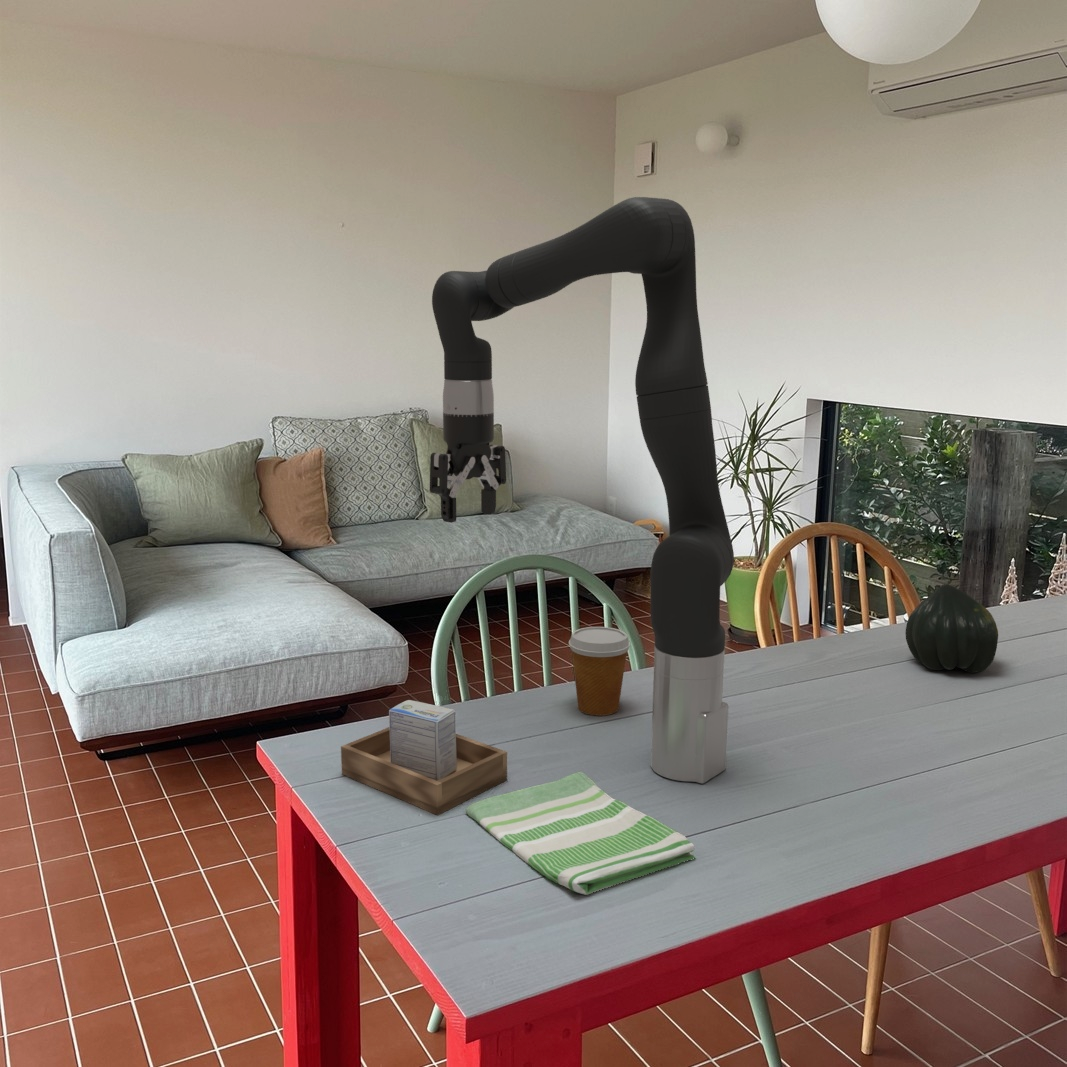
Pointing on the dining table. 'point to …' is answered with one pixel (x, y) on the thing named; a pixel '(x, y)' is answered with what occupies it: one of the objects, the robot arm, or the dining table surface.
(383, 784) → the tray
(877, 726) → the dining table surface
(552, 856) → the dish towel
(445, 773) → the medicine box
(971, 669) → the squash
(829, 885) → the dining table surface
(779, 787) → the dining table surface
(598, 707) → the disposable coffee cup
